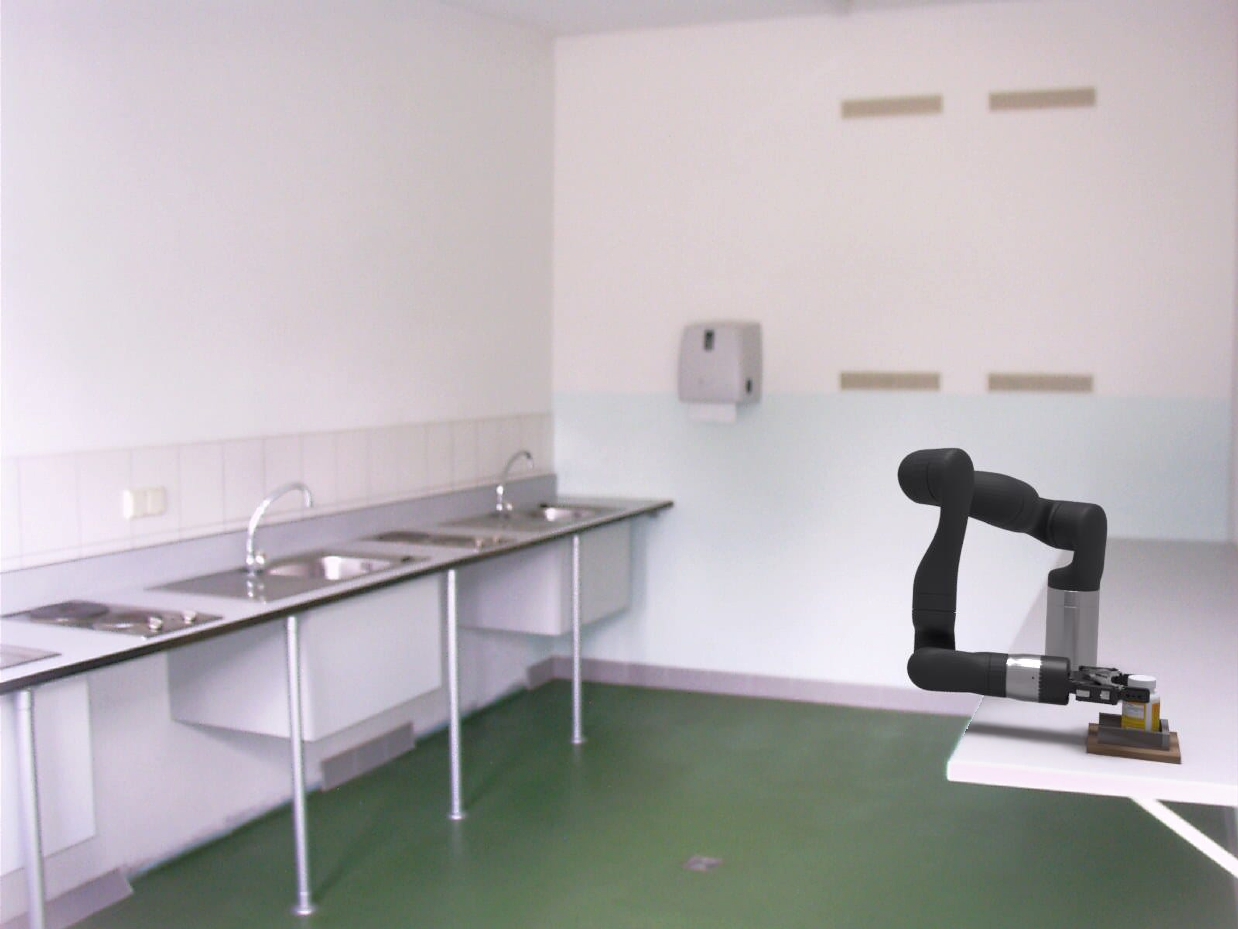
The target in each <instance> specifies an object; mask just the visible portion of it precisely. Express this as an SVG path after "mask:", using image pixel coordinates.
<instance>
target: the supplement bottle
mask: <svg viewBox="0 0 1238 929" xmlns="http://www.w3.org/2000/svg"><path fill="white" fill-rule="evenodd" d="M1128 686H1130V687H1140V688H1148V689H1149V690H1150V702H1149V703H1147V704H1145V703H1135V702H1125V701H1123V700H1122V702H1121V715H1122V724H1121V728H1127V729H1136V730H1145V731H1155V732H1159V721H1160V719H1161V718H1160V716H1161V696H1160V694H1159V693H1158V692H1156V691H1155V690H1156V687H1157V678H1155V677H1154V676H1150V675H1143V674H1135V675H1130V676H1129V677H1128Z"/></svg>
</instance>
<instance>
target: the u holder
mask: <svg viewBox="0 0 1238 929" xmlns="http://www.w3.org/2000/svg"><path fill="white" fill-rule="evenodd" d="M1121 724H1122V714H1120V713H1107V712H1100V711H1099V712H1098V723H1095V722H1088V727H1087V740H1086V754H1092V755H1099V756H1100V755H1101V756H1107V757H1109V756H1110V757H1117V758H1126V759H1127V758H1128V759H1135V760H1143V761H1151V762H1161V763H1168V764H1170V763H1171V764H1178V765H1181V763H1182V754H1181V750H1180V742H1179V737H1178V732H1177V731H1170V726H1169V719H1166V718H1160V721H1159V732H1155V731H1145V730H1136V729H1127V728H1121Z"/></svg>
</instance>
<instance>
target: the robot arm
mask: <svg viewBox="0 0 1238 929" xmlns="http://www.w3.org/2000/svg"><path fill="white" fill-rule="evenodd" d="M896 475H897V480H898V485H899V487H900V489H901V491H902V492H903V494H904V496H906V497H907V499H909V500H910V501H912V502H913V503H915V504H918V505H926V506H933V507H937V508H938V507H939V510H940V512H939V519H938V525H937V527H936V530H935V533H934V535H933V538H932V540H931V542H930V544H929V546H928V548H927V549H926V550H925V553H924V555H923V556H922V558H921V559H920V562H919V564H918V566H917V568H916V571H915V574H914V577H913V584H912V599H911V600H912V602H911V603H912V604H911V621H912V622H911V623H912V626H913V627H914V628H913V629H914V636H913V639H914V641H913V653H912V654H911V655H910V656H909V658H908V660H907V665H906V672H907V675H908V678H909V679H910V682H911V683H912V684H913V685H915V686H916V687H917V688H919V689H921V690H923V691H928V692H936V693H937V692H940V693H941V692H942V693H962V694H965V693H967V694H974V695H979V696H985V697H994V698H1002V699H1012V700H1015V701H1019V702H1026V703H1035V704H1036V703H1037V704H1045V705H1046V704H1047V705H1053V706H1054V705H1055V706H1063V707H1064V706H1068V705H1069V702H1070V695H1071V694H1072V695H1075V701H1077V702H1083V703H1085V702H1086V703H1093V704H1094V703H1095V704H1103V705H1108V706H1117V705H1118V704H1122V700H1123V701H1125V702H1135V703H1145V704H1147V703H1149V702H1150V690H1149V689H1148V688H1140V687H1130V686H1128V677H1129V676H1130V675H1136V674H1134V673H1124V672H1123V671H1120V670H1119V668H1116V667H1102V666H1097V665H1098V644H1099V641H1098V640H1099V622H1100V621H1099V620H1100V600H1101V599H1100V593H1101V592H1100V591H1101V581H1102V577H1103V574H1104V570H1105V556H1106V550H1107V549H1106V547H1107V539H1108V519H1107V513H1106V512H1105V510H1104V509H1103V507H1102V506H1101V505H1099V504H1096V503H1092V502H1091V503H1090V502H1083V501H1072V500H1065V499H1063V500H1062V499H1051V498H1044V497H1041V496H1040V495H1039V493H1038V492H1037V491H1036V489H1035V487H1033V486H1032V485H1031V484H1029V483H1028V482H1025V481H1023V480H1021V479H1018V478H1016V477H1013V476H1011V475H1008V474H1004V473H1001V472H1000V473H999V472H991V471H986V470H985V471H983V470H975V467H974V464H973V461H972V458H971V456H970V455H969V454H968V452H966V451H965V450H964V449H962V448H960V447H959V448H958V447H941V448H940V447H939V448H927V449H918V450H915V451H913V452H910V453H909V454H907V455H906V456H905V457H904V458H903V459H902V460H901V462H900V464H899V466H898V469H897V474H896ZM969 518H971V519H974V520H976V521H980V522H982V523H984V524H987V525H990V526H991V527H995V528H998V529H1001V530H1004V531H1009V532H1013V533H1018V534H1025V535H1028V536H1031V538H1034V539H1036V540H1037V541H1039V542H1041V543H1042V544H1044V545H1046V546H1047V547H1051V548H1053V549H1056V550H1062V551H1067V552H1068V551H1070V552H1073V554H1072V560H1071V562H1070V563H1069V564H1068V565H1065V566H1063V567H1058V568H1054V569H1051V570H1050V571H1049V572H1048V574H1047V589H1046V590H1047V591H1046V592H1047V593H1046V616H1045V617H1046V618H1045V638H1044V639H1045V640H1044V641H1045V643H1044V654H1035V653H1006V652H1005V653H1004V652H995V651H974V652H972V651H964V650H956V634H955V632H956V631H955V627H956V617H957V599H958V596H957V595H958V578H959V570H960V569H959V568H960V562H961V556H962V551H963V546H964V542H965V541H964V540H965V536H966V533H967V528H968V522H969Z"/></svg>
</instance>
